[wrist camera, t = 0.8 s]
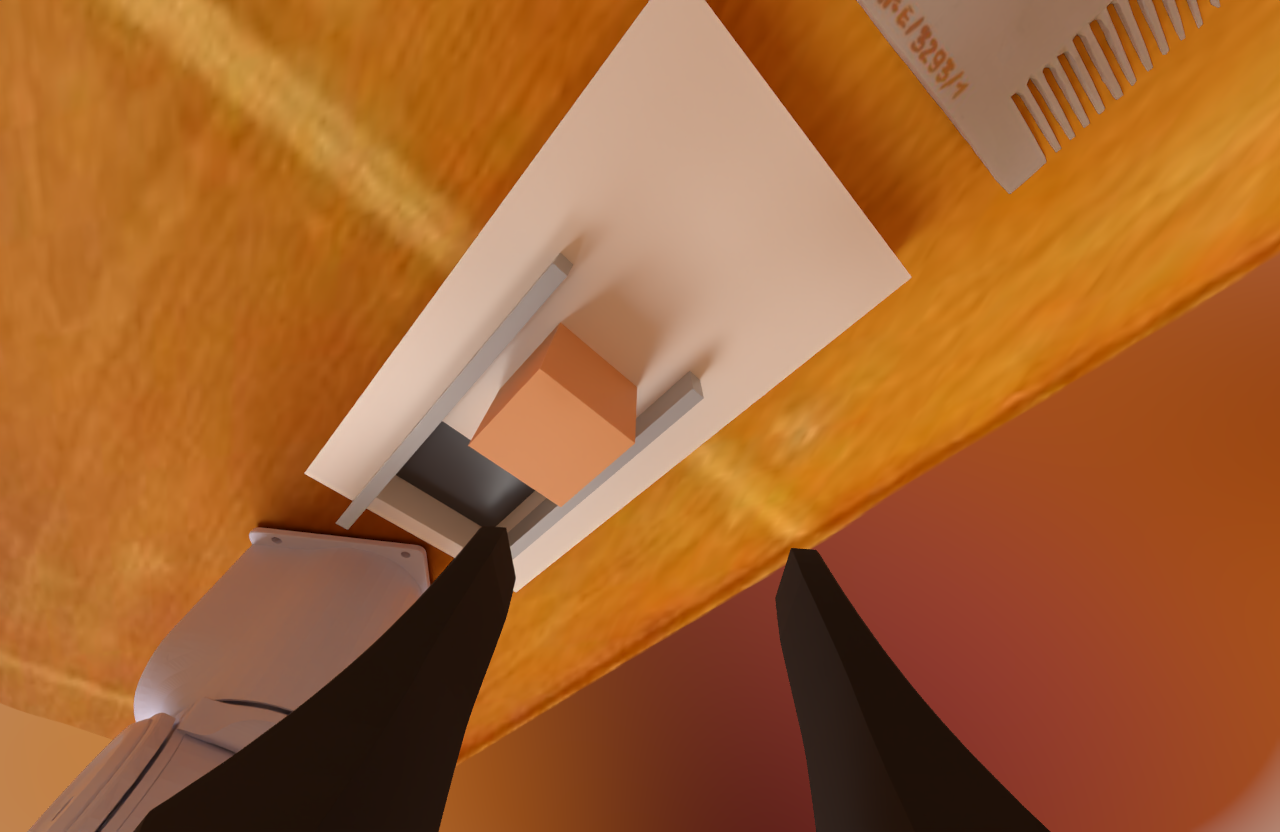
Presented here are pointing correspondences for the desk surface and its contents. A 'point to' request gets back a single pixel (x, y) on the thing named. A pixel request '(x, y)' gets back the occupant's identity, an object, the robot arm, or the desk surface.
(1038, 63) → the grooming comb
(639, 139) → the trough
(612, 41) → the desk surface
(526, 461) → the block
